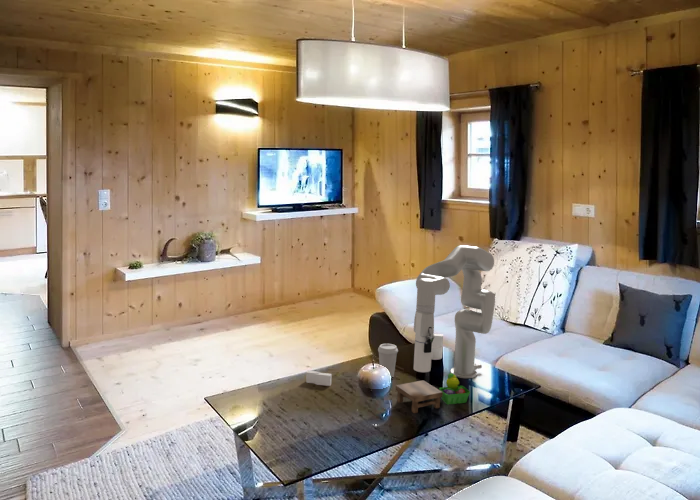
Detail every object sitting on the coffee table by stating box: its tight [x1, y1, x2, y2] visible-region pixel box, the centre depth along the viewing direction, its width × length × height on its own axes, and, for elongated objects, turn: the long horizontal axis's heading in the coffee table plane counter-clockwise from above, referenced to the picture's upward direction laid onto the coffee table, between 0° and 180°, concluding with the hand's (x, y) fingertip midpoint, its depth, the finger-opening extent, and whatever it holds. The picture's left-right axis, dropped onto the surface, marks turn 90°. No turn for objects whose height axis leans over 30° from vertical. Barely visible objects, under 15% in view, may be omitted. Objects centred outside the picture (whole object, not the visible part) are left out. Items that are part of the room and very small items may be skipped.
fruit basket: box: [439, 373, 471, 405], centre depth 244 cm, size 11×9×11 cm
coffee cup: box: [377, 343, 399, 377], centre depth 269 cm, size 10×10×15 cm
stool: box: [395, 380, 443, 414], centre depth 240 cm, size 14×14×7 cm
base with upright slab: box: [431, 333, 444, 361], centre depth 298 cm, size 9×9×12 cm
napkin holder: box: [305, 370, 332, 387], centre depth 260 cm, size 15×11×6 cm
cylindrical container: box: [413, 312, 432, 373], centre depth 239 cm, size 7×7×25 cm
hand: (423, 349), depth 239 cm, fingers closed on cylindrical container, 7 cm apart
